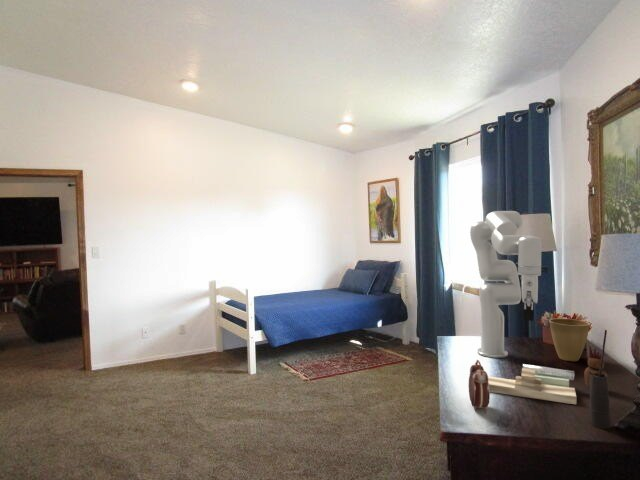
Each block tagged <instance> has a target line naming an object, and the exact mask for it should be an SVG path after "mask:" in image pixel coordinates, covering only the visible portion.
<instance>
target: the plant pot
mask: <svg viewBox="0 0 640 480" xmlns="http://www.w3.org/2000/svg"><path fill="white" fill-rule="evenodd" d="M590 325H591V324H590V322H587V321H584V320H582V319H581V320H578V319H575V318H574V319H572V318H552V319H551V318H550V319H549V326H550V327H549V328H550V332H551V338H552V341H553V345H554V348H555V351H556V354H557V356H558V358H559V359H560V360H563V361H568V362H578V361H579V360H580V358H581V356H582V354H583V351H584V350H585V349H584V348H585V345H586V342H587V339H588V336H589V335H588V333H589V328H590Z"/></svg>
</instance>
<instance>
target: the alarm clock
mask: <svg viewBox="0 0 640 480" xmlns="http://www.w3.org/2000/svg"><path fill="white" fill-rule="evenodd" d="M488 376H489V374H488V372H486V371H485V369H484V367H483V366H482V364H481V362H480V360H478V359H477V360H476V361H475V364H472V365H471V366H470V367H469V377H468V395H469V400H470V404H471V406H472V407H473V408H474V411H475V412H476V411H477V408H481V409H482V408H483V410H484V413H487V408H488V407H489V404H490V398H491V397H490V396H491V395H490V394H491V393H490V390H489V382H488Z"/></svg>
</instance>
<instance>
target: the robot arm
mask: <svg viewBox="0 0 640 480" xmlns="http://www.w3.org/2000/svg"><path fill="white" fill-rule="evenodd" d="M522 225H523V218H522V215H521V214H520V212H518V211H515V210H494V211H491V212H489V213H488V214H487V215H486V216H485V220H483V221H482V220H481V221H476V222H474V223H472V225H471V227H470V232H469V234H470V235H469V236H470V240H471V243H472V245H473V248H474V250H475V252H476V257H477V258H476V259H477V265H478V272H479V277H480V279H482V280H483V281H487V282H489V283H487V282H486V283H484V284H482V285H481V286H480V287H479V289H478V296H479V297H478V298H479V302H480V315H481V316H480V320H481V321H480V330H481V331H480V337H481V338H480V341H481V342H480V348H478V349H477V353H478V355H480V356H484V357H487V358H494V359H497V358H498V359H499V358H505V357H508V355H509V352H508V351H507V350H505V315H504V312H503V311H502V309H501V308H500V307H499V306H502V305H508V306H510V305H511V306H512V305H518V304H520V302H521V300H522V303H524V304H523V321H527V322H528V321H529V322H533V321H534V319H535V318H534V316H535V315H534V313H535V312H534V311H535V310H534V305H535V304H536V305H537V304H538V300H539V299H538V298H539V296H538V295H539V293H538V292H539V280H538V279H539V277H540V276H542V239H541V237H539V236H533V235H531V234H517V233H518V231H519V230H520V229H521V227H522ZM488 240H491V243H490V242H489V241H488ZM498 254H500V255H502V256H515V255H517V265H518V266H517V265H516V263H514V262H513V260H509V259H498ZM519 276H521V283H520V279H519V278H520V277H519ZM490 282H491V283H490ZM534 303H535V304H534Z"/></svg>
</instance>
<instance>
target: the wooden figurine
mask: <svg viewBox="0 0 640 480" xmlns="http://www.w3.org/2000/svg"><path fill="white" fill-rule="evenodd" d="M588 350H589V351H588V355H589V356H588V357H589V358H588V359H587V365H588V366H587V367H586V368H585V370H584V373H583V374H584V375H583V376H584V383H585V384H586V386H587V388H588V389H589V390H590V374H589V373H588V372H589V371H591V372H592V373H595V374H596V373H599V370H600V363H601V356H602V353H600V352H599V351H597V349H596V348H595V347H594V348H593V350H592V347H591V345H589V349H588ZM604 367H605V362H604V360H603V365H602V373H601V374H605V375H607V379H609V378H608V374H607V372H606V371H605V370H604Z"/></svg>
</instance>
